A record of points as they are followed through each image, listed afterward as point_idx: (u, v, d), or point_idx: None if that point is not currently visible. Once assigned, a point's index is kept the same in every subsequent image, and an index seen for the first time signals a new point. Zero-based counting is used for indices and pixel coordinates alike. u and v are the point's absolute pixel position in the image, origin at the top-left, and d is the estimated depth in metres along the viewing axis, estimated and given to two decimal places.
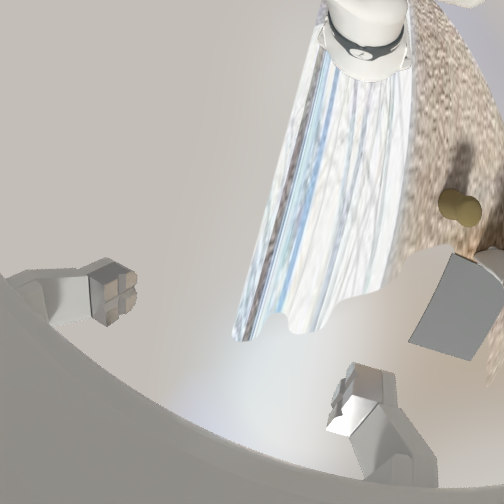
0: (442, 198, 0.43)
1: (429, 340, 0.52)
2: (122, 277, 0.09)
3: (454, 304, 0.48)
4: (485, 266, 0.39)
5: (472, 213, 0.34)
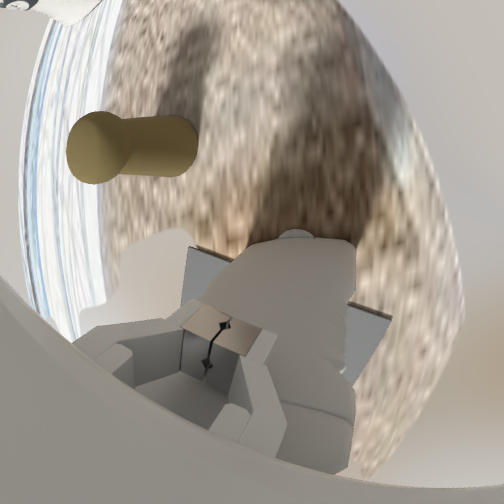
0: None
1: None
2: (222, 325, 0.08)
3: None
4: None
5: (77, 149, 0.15)
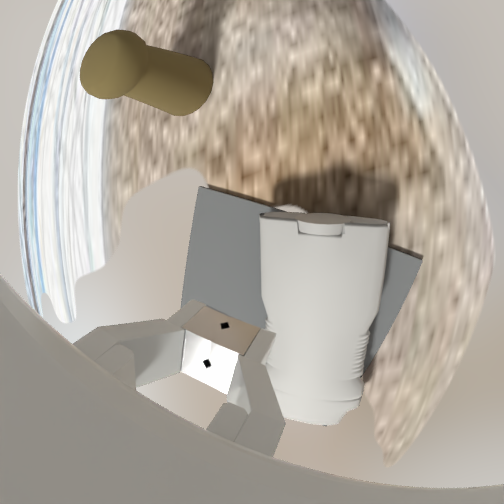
0: None
1: None
2: (223, 326, 0.08)
3: (237, 306, 0.27)
4: (261, 291, 0.24)
5: (94, 59, 0.13)
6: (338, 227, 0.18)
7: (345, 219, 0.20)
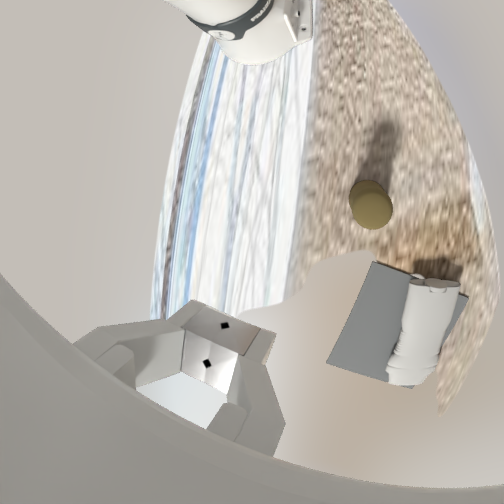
0: (351, 193, 0.40)
1: (352, 363, 0.49)
2: (223, 326, 0.08)
3: (381, 323, 0.45)
4: (402, 317, 0.41)
5: (373, 210, 0.31)
6: (445, 288, 0.36)
7: (444, 283, 0.38)
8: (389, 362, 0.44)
